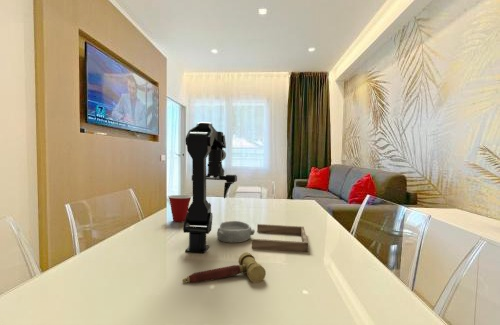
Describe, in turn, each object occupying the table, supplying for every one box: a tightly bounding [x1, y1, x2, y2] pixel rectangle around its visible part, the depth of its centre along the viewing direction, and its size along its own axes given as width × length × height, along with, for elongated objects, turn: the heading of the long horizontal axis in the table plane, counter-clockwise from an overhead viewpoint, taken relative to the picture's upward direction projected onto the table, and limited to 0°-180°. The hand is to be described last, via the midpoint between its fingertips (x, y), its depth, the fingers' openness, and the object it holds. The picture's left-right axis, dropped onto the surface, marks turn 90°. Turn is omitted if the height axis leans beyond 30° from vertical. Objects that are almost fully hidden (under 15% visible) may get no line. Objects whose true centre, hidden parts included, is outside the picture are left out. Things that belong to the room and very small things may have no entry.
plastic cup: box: [168, 194, 193, 223], centre depth 128 cm, size 11×11×12 cm
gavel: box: [182, 252, 267, 284], centre depth 72 cm, size 21×5×10 cm
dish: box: [216, 220, 256, 243], centre depth 105 cm, size 14×14×5 cm
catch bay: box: [251, 223, 309, 253], centre depth 103 cm, size 20×19×3 cm
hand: (214, 197), depth 116 cm, fingers open, 9 cm apart
